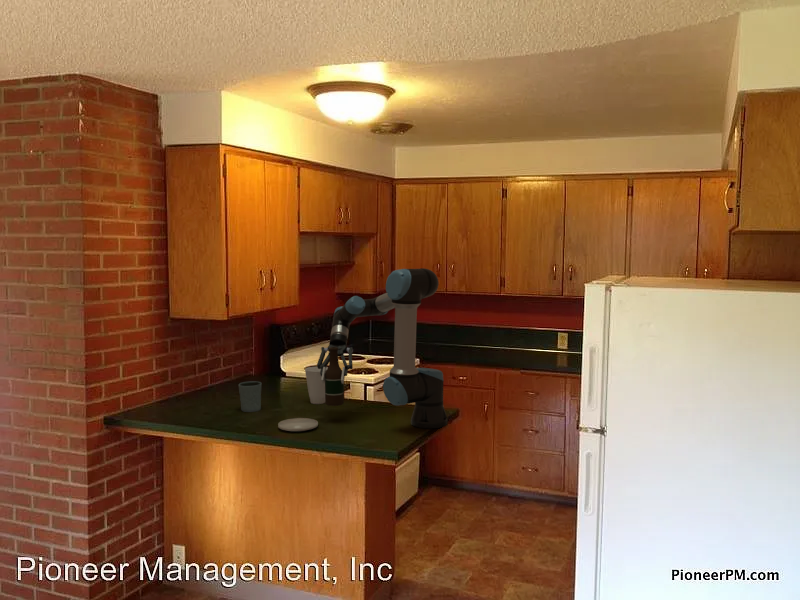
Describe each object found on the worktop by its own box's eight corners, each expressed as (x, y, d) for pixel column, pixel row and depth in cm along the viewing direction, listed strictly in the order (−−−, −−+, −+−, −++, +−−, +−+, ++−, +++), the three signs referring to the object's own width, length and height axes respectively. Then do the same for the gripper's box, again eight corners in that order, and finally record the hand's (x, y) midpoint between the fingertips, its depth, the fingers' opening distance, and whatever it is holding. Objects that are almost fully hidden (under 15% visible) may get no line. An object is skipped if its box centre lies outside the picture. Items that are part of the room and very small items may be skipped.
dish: (323, 430, 276) (323, 425, 276) (284, 435, 270) (283, 430, 269) (311, 421, 291) (311, 416, 291) (274, 425, 284) (273, 420, 284)
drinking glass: (266, 408, 312) (266, 382, 311) (250, 413, 304) (249, 386, 303) (250, 406, 318) (250, 380, 317) (234, 410, 310) (233, 384, 309)
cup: (313, 406, 317) (312, 372, 315) (300, 401, 326) (300, 368, 325) (335, 402, 324) (334, 369, 322) (322, 398, 333) (322, 365, 332)
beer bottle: (347, 403, 290) (346, 347, 288) (334, 406, 284) (333, 349, 282) (335, 401, 295) (334, 345, 293) (321, 404, 289) (320, 347, 288)
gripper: (363, 343, 302) (358, 387, 287) (317, 343, 304) (309, 386, 289) (361, 332, 296) (355, 376, 282) (314, 332, 298) (306, 376, 284)
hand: (332, 381), depth 286 cm, fingers closed on beer bottle, 7 cm apart
